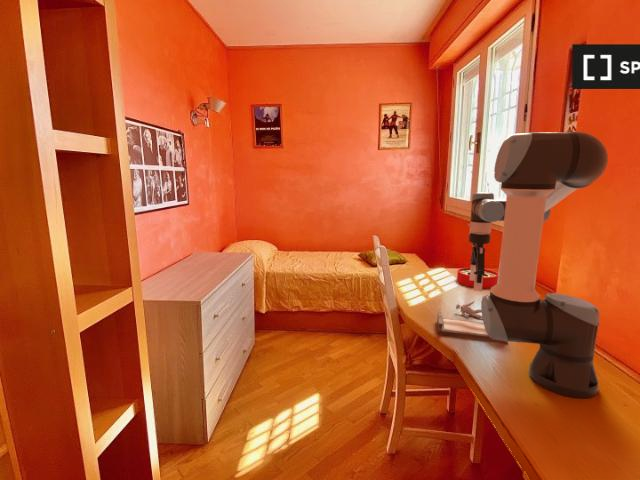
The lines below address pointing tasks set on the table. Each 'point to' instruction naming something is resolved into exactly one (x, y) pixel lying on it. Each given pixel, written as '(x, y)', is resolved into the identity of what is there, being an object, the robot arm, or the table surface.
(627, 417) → the table surface
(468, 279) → the toy clock
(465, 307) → the soldier figure
